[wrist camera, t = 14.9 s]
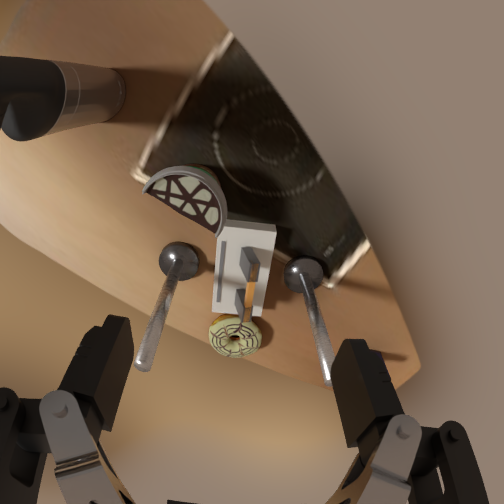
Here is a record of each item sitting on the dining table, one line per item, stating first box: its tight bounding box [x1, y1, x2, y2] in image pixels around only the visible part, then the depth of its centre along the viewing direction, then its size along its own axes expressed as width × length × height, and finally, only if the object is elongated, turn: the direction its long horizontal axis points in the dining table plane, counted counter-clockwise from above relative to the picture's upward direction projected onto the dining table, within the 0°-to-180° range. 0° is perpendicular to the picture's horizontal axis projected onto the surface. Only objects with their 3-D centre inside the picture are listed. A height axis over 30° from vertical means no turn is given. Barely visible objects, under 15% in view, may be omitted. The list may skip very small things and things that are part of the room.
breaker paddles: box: [234, 247, 261, 323], centre depth 47 cm, size 2×11×5 cm, turn 173°
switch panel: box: [212, 219, 277, 316], centre depth 51 cm, size 9×17×3 cm, turn 173°
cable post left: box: [134, 242, 199, 372], centre depth 41 cm, size 7×7×24 cm
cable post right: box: [283, 255, 335, 386], centre depth 42 cm, size 7×7×24 cm
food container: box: [142, 164, 227, 238], centre depth 40 cm, size 12×6×10 cm, turn 55°
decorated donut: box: [209, 314, 262, 358], centre depth 58 cm, size 10×11×4 cm
